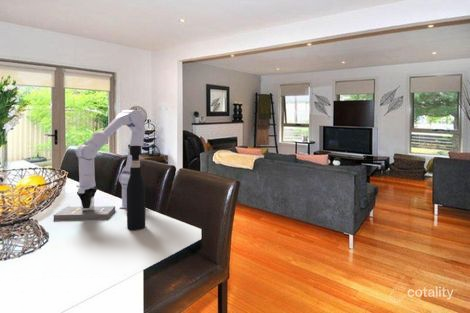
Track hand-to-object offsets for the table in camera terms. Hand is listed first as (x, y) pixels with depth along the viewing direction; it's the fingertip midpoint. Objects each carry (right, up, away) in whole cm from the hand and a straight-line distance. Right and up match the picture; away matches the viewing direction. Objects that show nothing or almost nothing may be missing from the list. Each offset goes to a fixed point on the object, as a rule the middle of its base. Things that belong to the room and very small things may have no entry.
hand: (87, 207), depth 125 cm
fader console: (-1, -3, 0) cm, 3 cm away
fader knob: (0, -1, 0) cm, 1 cm away
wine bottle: (+24, -6, -13) cm, 28 cm away
